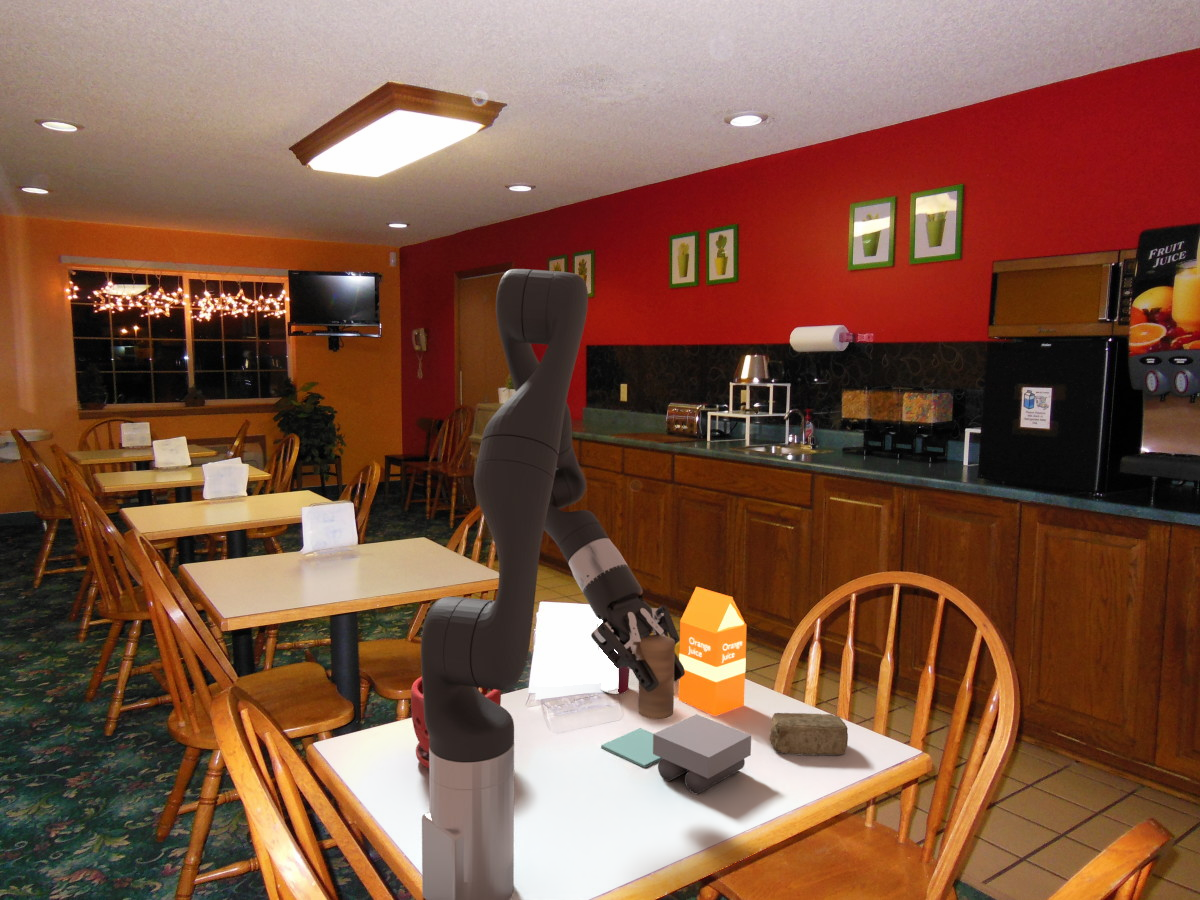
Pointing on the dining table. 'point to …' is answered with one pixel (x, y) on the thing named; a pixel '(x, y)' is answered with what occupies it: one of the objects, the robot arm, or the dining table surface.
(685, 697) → the orange juice
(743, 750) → the grey roller platform
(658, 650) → the roller
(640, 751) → the teal pad
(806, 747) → the stone block
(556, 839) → the dining table surface
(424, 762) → the plant pot
